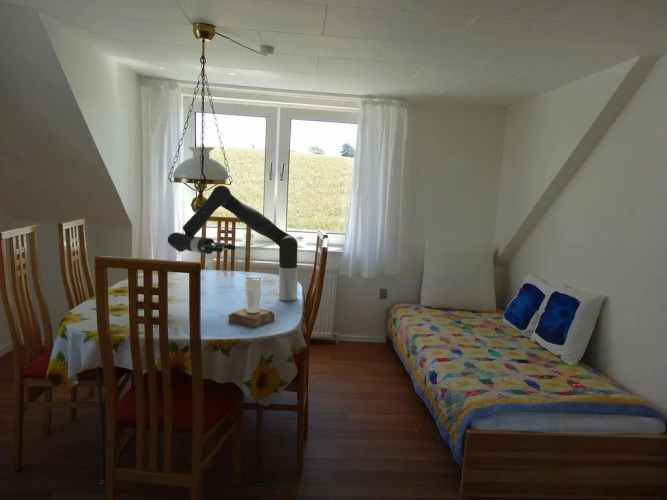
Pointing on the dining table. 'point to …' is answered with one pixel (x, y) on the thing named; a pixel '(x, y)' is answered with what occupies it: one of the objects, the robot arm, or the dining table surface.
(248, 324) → the walnut stand
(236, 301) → the dining table surface
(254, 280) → the beer glass
